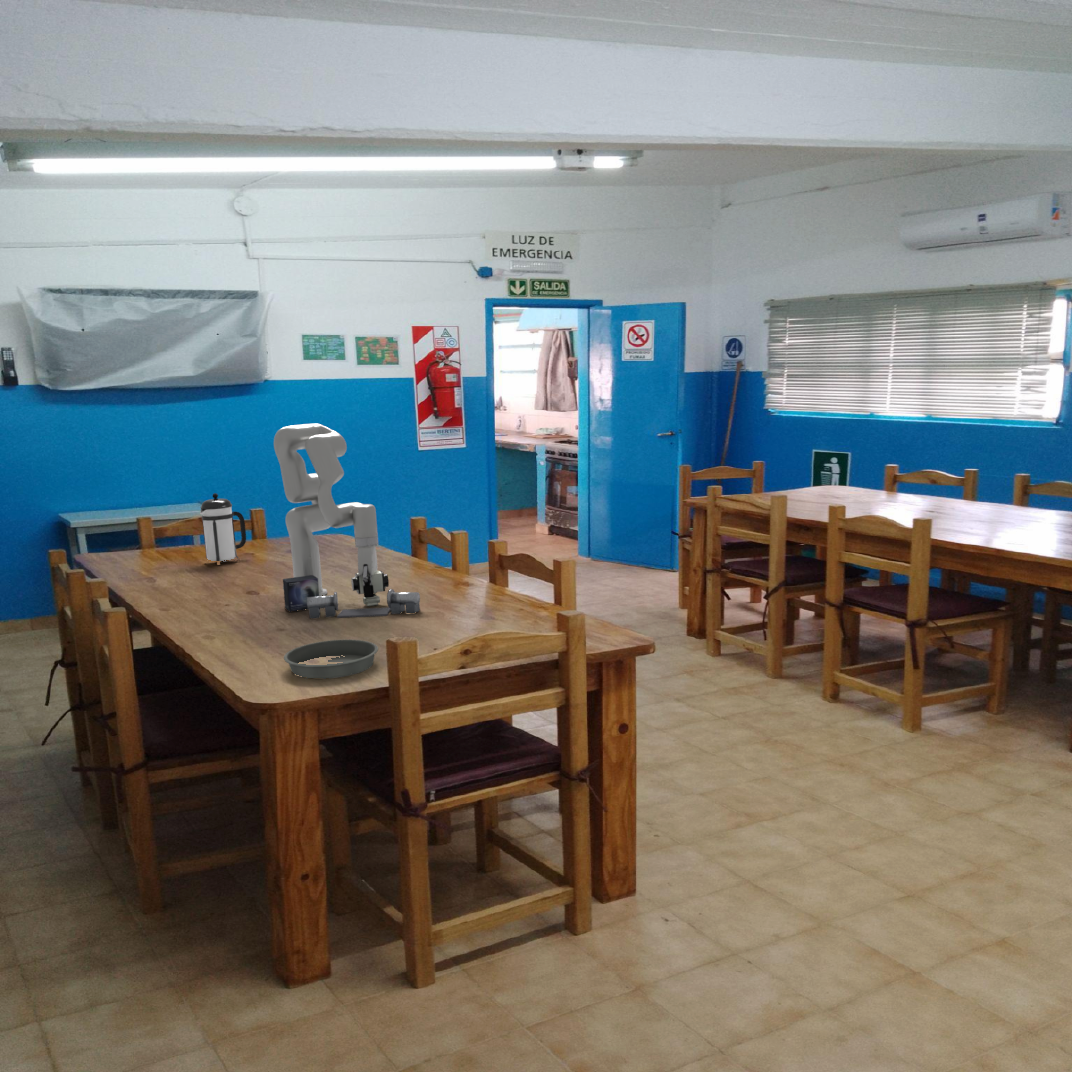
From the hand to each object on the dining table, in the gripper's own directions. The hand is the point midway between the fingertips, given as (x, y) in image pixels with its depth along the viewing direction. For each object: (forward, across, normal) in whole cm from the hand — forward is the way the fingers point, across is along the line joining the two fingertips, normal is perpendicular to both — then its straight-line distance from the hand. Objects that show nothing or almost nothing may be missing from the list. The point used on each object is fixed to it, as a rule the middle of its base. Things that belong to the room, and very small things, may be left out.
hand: (370, 594), depth 344 cm
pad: (+4, +12, 0) cm, 12 cm away
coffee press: (+4, -95, -81) cm, 125 cm away
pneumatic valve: (+4, 0, 0) cm, 4 cm away
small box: (+4, +1, -23) cm, 23 cm away
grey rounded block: (+4, +13, +13) cm, 19 cm away
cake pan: (+4, +72, +3) cm, 72 cm away
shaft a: (+4, +13, -14) cm, 19 cm away
